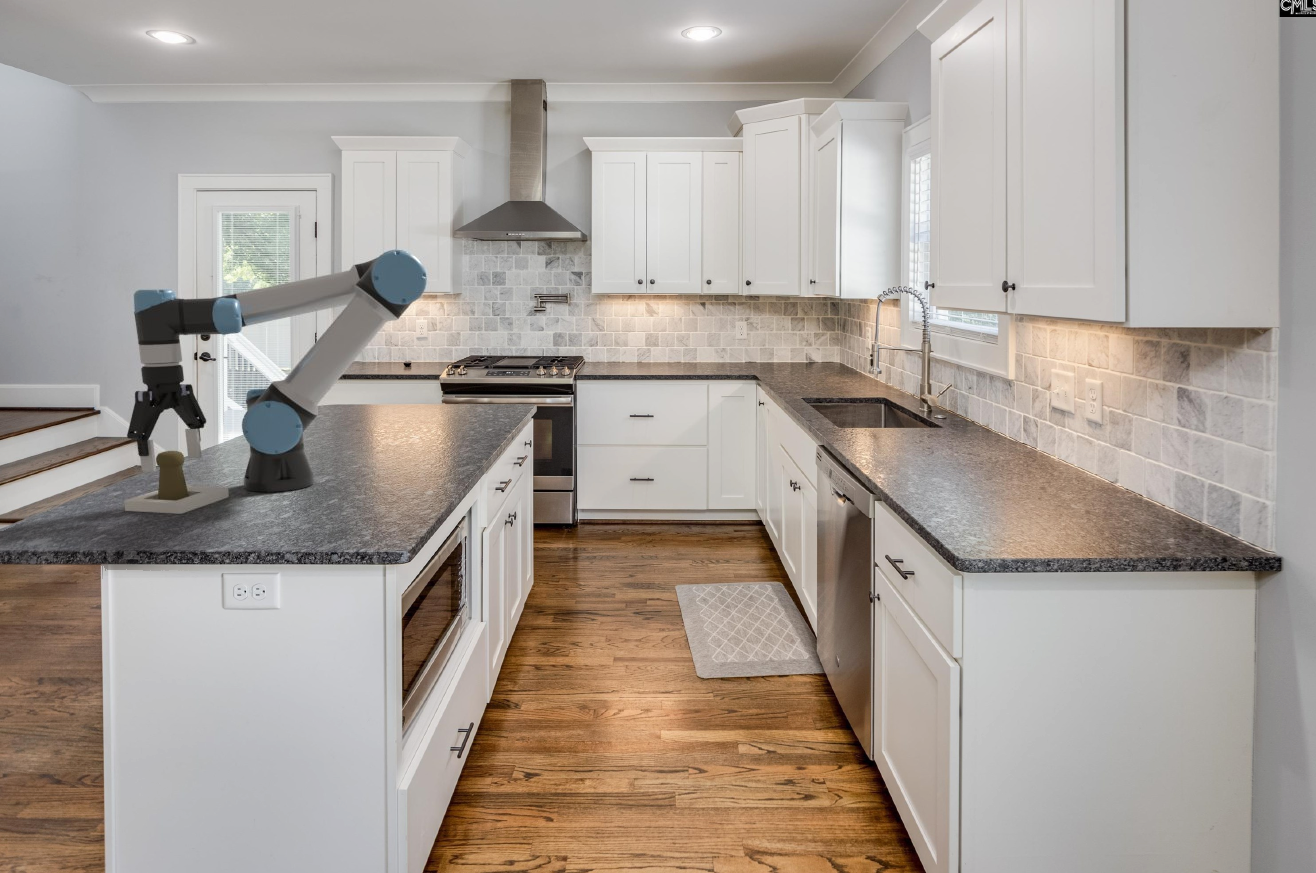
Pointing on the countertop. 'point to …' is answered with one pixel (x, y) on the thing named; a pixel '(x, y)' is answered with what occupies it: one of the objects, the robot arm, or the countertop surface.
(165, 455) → the cork
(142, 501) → the socket plate
